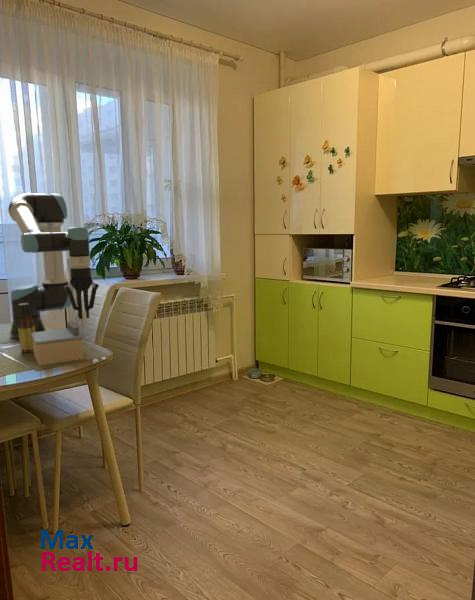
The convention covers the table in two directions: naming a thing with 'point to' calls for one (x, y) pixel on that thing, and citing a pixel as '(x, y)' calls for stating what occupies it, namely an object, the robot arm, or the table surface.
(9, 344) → the table surface
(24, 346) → the sauce bottle
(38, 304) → the robot arm
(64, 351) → the mailer box
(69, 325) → the mailer lid
